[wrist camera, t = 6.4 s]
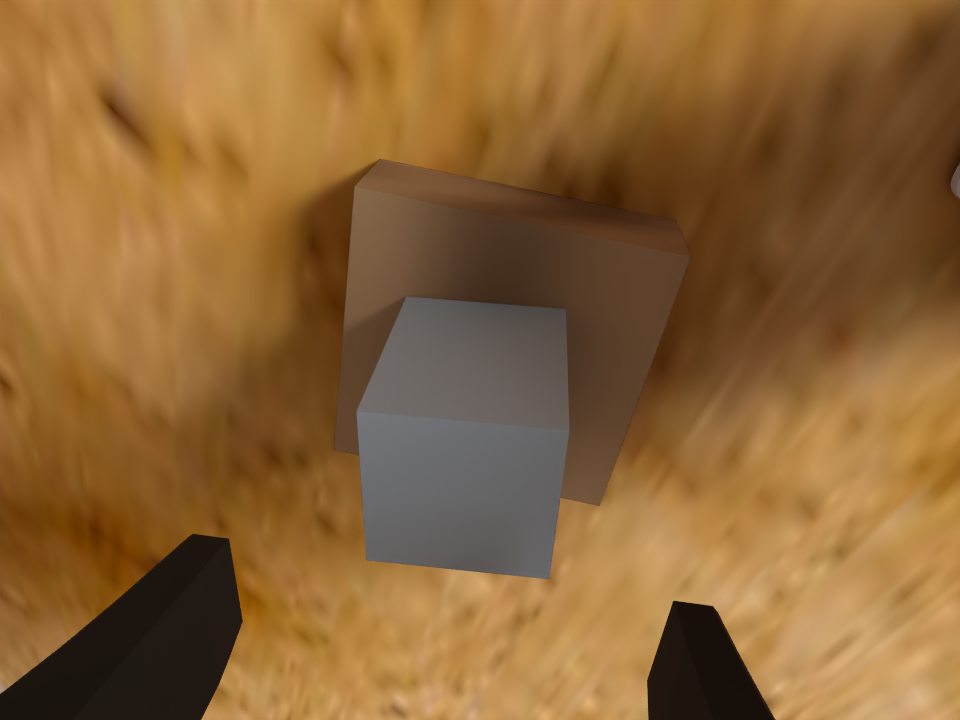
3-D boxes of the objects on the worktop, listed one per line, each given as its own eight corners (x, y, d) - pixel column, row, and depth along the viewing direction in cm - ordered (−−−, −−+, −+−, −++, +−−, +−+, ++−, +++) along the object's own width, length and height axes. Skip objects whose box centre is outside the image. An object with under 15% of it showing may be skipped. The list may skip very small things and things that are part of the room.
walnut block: (673, 214, 18) (690, 256, 16) (596, 443, 22) (599, 505, 20) (384, 154, 18) (354, 186, 16) (360, 393, 22) (334, 449, 20)
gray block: (565, 309, 17) (569, 430, 13) (550, 437, 19) (549, 578, 15) (406, 296, 17) (356, 411, 13) (408, 424, 19) (366, 560, 15)
